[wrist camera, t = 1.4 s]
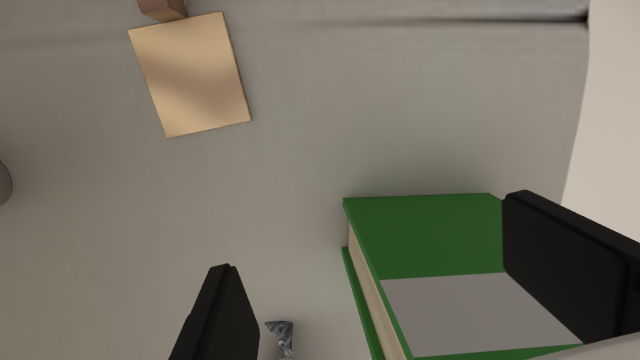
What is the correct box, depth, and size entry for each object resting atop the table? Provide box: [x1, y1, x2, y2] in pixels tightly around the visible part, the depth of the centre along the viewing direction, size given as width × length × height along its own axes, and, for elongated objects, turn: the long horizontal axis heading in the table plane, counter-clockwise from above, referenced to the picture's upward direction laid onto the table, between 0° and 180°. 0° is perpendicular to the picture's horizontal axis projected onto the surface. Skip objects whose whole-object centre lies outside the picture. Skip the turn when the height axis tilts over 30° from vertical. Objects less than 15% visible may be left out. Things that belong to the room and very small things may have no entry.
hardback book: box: [342, 193, 585, 360], centre depth 25 cm, size 18×7×24 cm, turn 90°
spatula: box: [127, 0, 252, 138], centre depth 25 cm, size 21×9×5 cm, turn 11°
